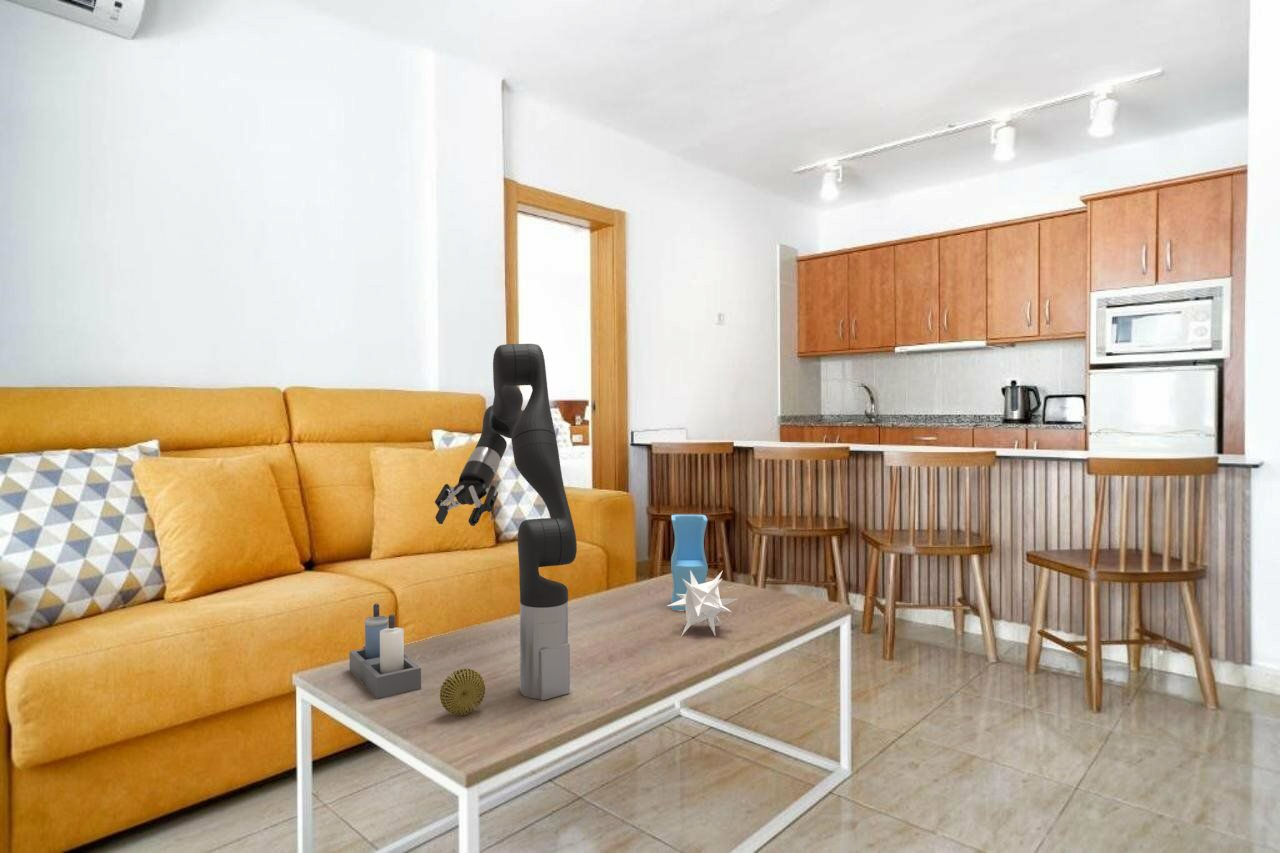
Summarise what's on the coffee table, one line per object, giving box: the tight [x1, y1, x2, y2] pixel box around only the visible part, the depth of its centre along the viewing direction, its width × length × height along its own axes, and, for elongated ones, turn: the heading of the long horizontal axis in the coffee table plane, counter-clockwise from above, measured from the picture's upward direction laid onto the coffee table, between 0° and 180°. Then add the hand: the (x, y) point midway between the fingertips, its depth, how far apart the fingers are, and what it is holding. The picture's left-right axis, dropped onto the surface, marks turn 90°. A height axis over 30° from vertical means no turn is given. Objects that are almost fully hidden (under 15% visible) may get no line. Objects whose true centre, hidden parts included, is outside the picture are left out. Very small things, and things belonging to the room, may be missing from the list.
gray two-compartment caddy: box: [349, 613, 422, 700], centre depth 143 cm, size 19×8×14 cm, turn 37°
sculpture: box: [439, 668, 486, 716], centre depth 126 cm, size 8×4×8 cm, turn 118°
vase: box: [670, 514, 709, 611], centre depth 197 cm, size 10×10×25 cm
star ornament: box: [667, 569, 738, 637], centre depth 175 cm, size 20×14×14 cm
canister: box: [364, 603, 389, 660], centre depth 147 cm, size 4×4×14 cm
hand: (454, 523), depth 162 cm, fingers open, 8 cm apart
